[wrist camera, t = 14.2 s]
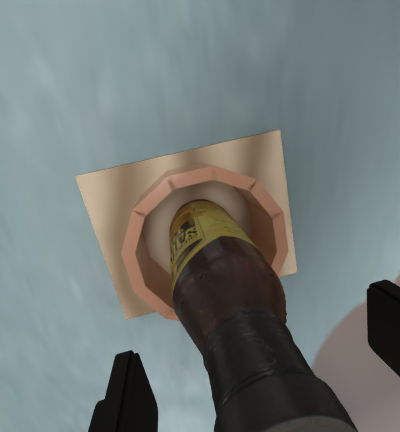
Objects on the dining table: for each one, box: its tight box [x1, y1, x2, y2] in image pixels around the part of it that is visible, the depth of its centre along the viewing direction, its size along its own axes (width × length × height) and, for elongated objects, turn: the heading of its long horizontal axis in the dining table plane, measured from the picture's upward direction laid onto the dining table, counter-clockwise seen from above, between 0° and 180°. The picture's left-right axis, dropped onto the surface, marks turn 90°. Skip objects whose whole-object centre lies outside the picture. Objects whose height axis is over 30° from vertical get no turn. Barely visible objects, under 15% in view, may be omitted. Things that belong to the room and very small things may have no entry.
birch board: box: [75, 130, 297, 320], centre depth 26 cm, size 20×16×2 cm
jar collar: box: [121, 163, 289, 321], centre depth 23 cm, size 13×13×6 cm
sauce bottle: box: [169, 199, 358, 432], centre depth 16 cm, size 7×6×20 cm
